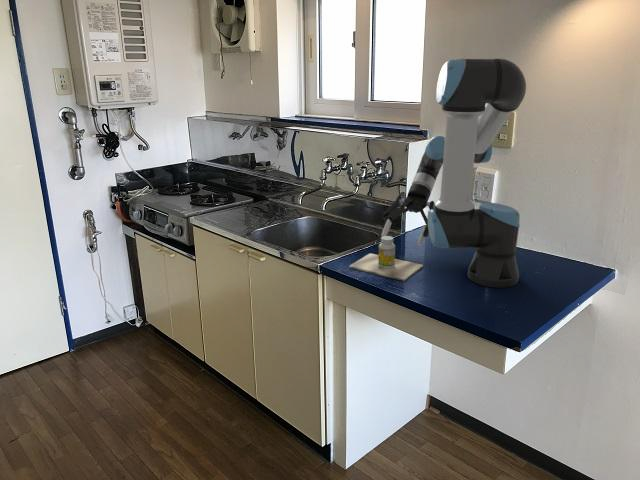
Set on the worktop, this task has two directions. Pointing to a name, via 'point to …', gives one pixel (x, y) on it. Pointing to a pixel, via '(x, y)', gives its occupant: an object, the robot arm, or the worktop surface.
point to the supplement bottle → (386, 252)
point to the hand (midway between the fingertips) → (400, 240)
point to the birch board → (398, 271)
